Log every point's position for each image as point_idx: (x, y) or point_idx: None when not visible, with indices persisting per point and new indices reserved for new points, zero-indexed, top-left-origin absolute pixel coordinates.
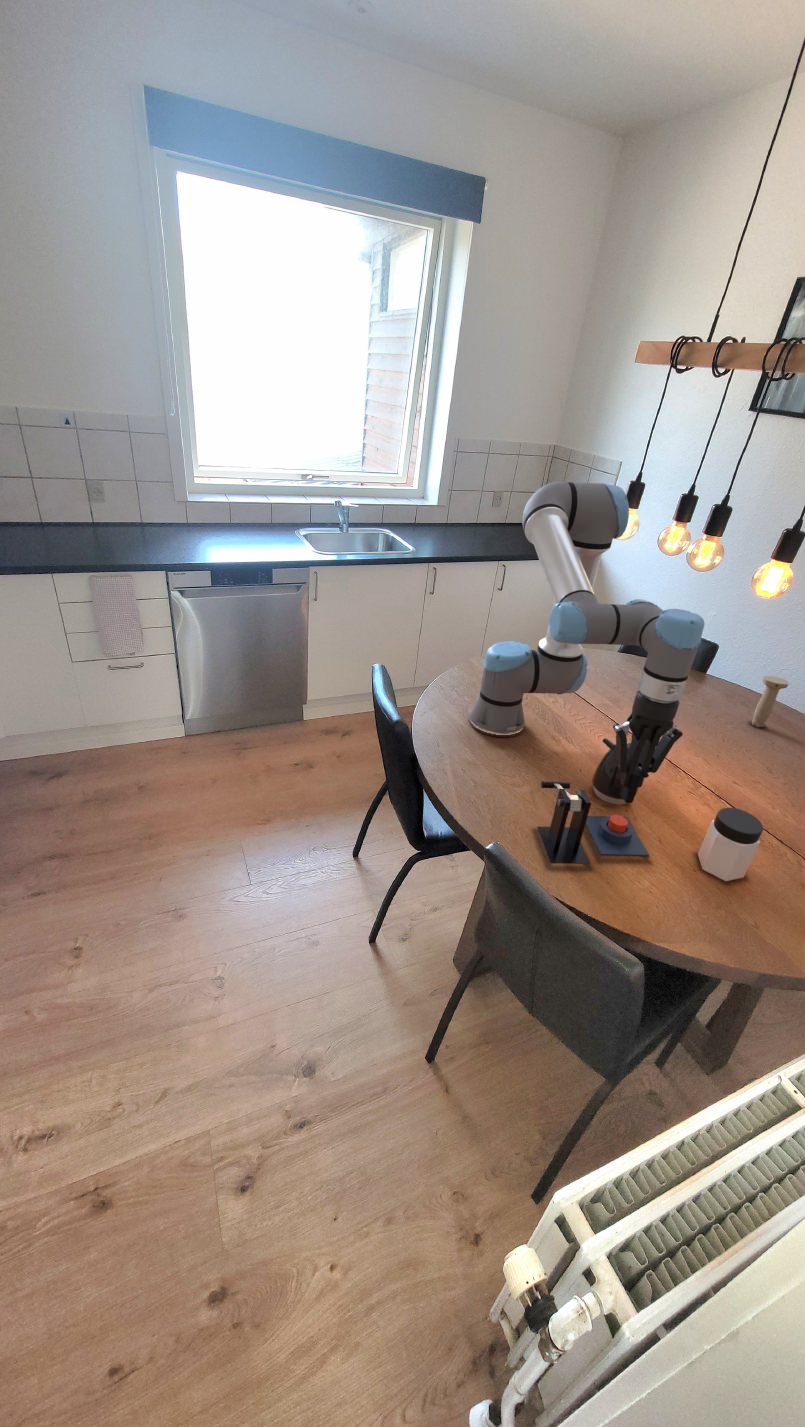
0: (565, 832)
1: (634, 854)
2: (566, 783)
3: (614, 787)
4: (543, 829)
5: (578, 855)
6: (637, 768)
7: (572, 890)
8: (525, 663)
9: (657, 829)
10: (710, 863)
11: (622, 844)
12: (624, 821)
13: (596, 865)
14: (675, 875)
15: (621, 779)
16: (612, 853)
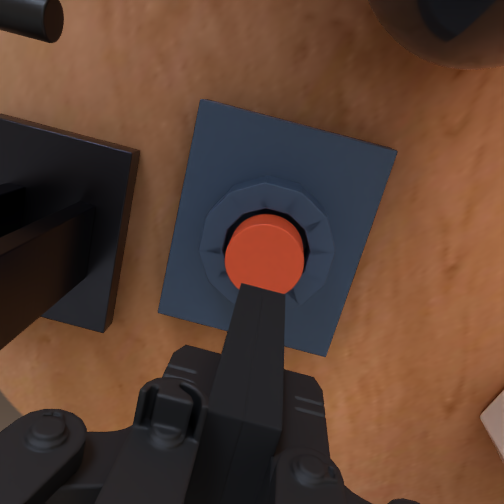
0: (85, 175)
1: None
2: (19, 18)
3: (410, 22)
4: (5, 138)
5: (81, 293)
6: (268, 480)
7: (28, 376)
8: None
9: (498, 213)
10: (499, 452)
11: None
12: (283, 276)
13: (146, 315)
14: (371, 408)
15: (169, 364)
16: (198, 320)
